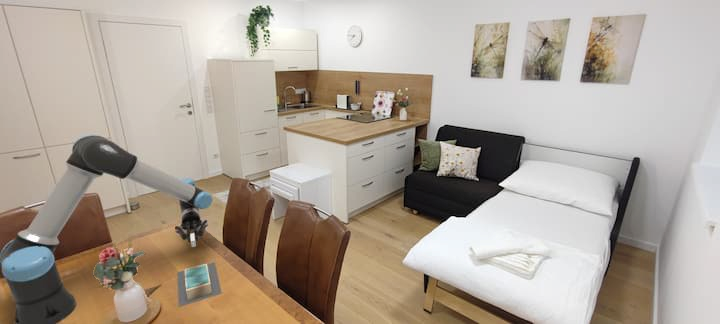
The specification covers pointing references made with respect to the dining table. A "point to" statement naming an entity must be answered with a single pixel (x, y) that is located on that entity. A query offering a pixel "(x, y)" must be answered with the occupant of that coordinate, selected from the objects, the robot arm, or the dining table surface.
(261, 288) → the dining table surface
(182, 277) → the rubber mat
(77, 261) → the dining table surface
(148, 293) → the shard
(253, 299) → the dining table surface
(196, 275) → the beige tall block
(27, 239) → the robot arm
